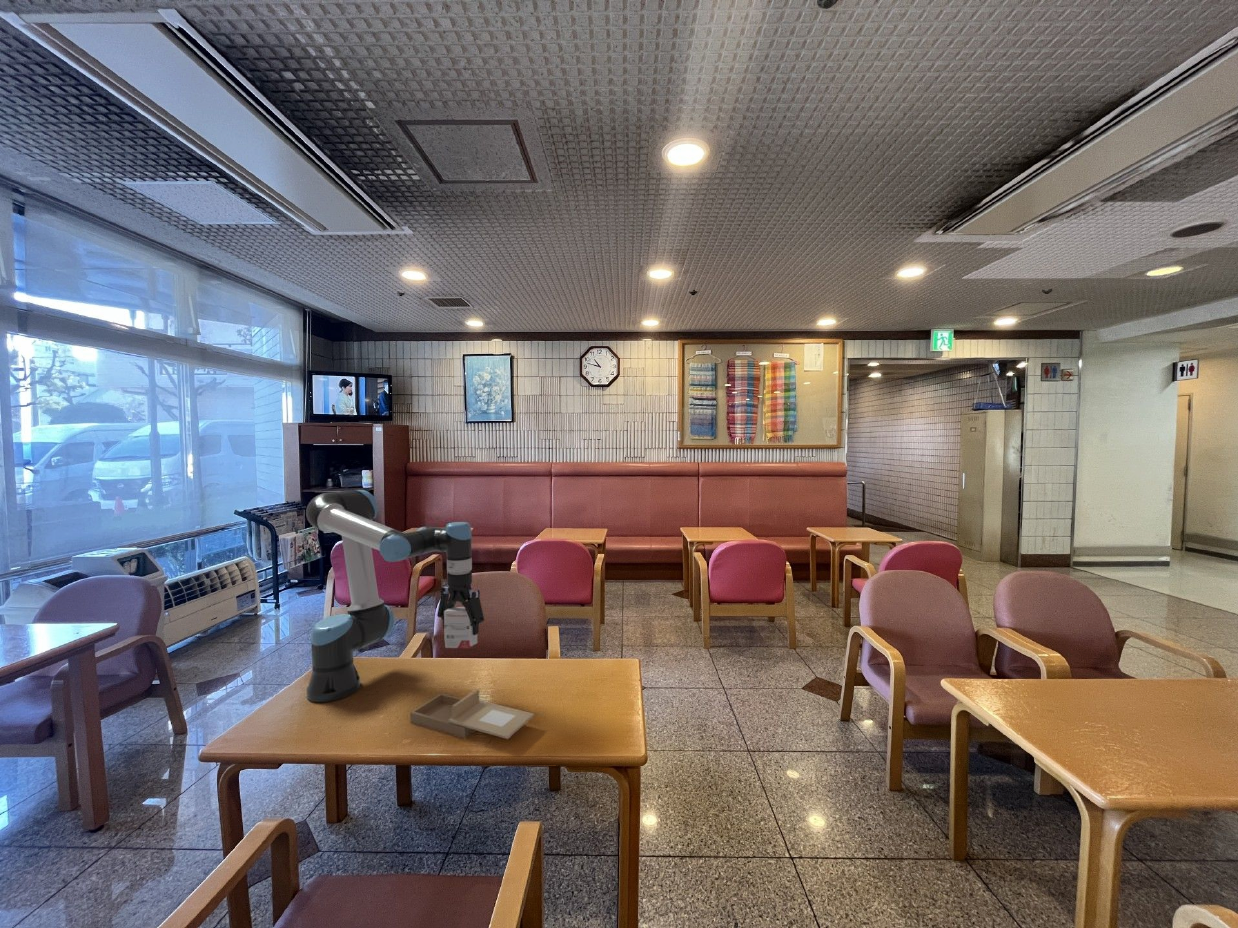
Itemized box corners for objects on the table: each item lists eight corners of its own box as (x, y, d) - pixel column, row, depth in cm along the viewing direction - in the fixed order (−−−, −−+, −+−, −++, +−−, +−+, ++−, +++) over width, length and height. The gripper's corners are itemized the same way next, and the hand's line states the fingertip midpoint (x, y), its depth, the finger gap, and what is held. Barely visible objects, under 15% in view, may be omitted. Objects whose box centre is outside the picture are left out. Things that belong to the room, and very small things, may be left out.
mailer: (410, 722, 142) (410, 712, 142) (441, 702, 153) (441, 693, 153) (464, 738, 134) (464, 727, 133) (493, 716, 144) (493, 706, 144)
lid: (448, 722, 136) (447, 707, 136) (477, 701, 147) (477, 687, 147) (507, 738, 128) (507, 723, 127) (534, 715, 139) (533, 700, 138)
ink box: (476, 642, 158) (476, 606, 158) (470, 648, 154) (470, 611, 153) (450, 641, 159) (450, 605, 159) (444, 647, 154) (443, 610, 154)
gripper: (424, 571, 157) (425, 640, 157) (479, 578, 148) (480, 652, 148) (441, 565, 163) (442, 632, 164) (495, 572, 154) (496, 642, 155)
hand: (460, 641), depth 156 cm, fingers closed on ink box, 9 cm apart
